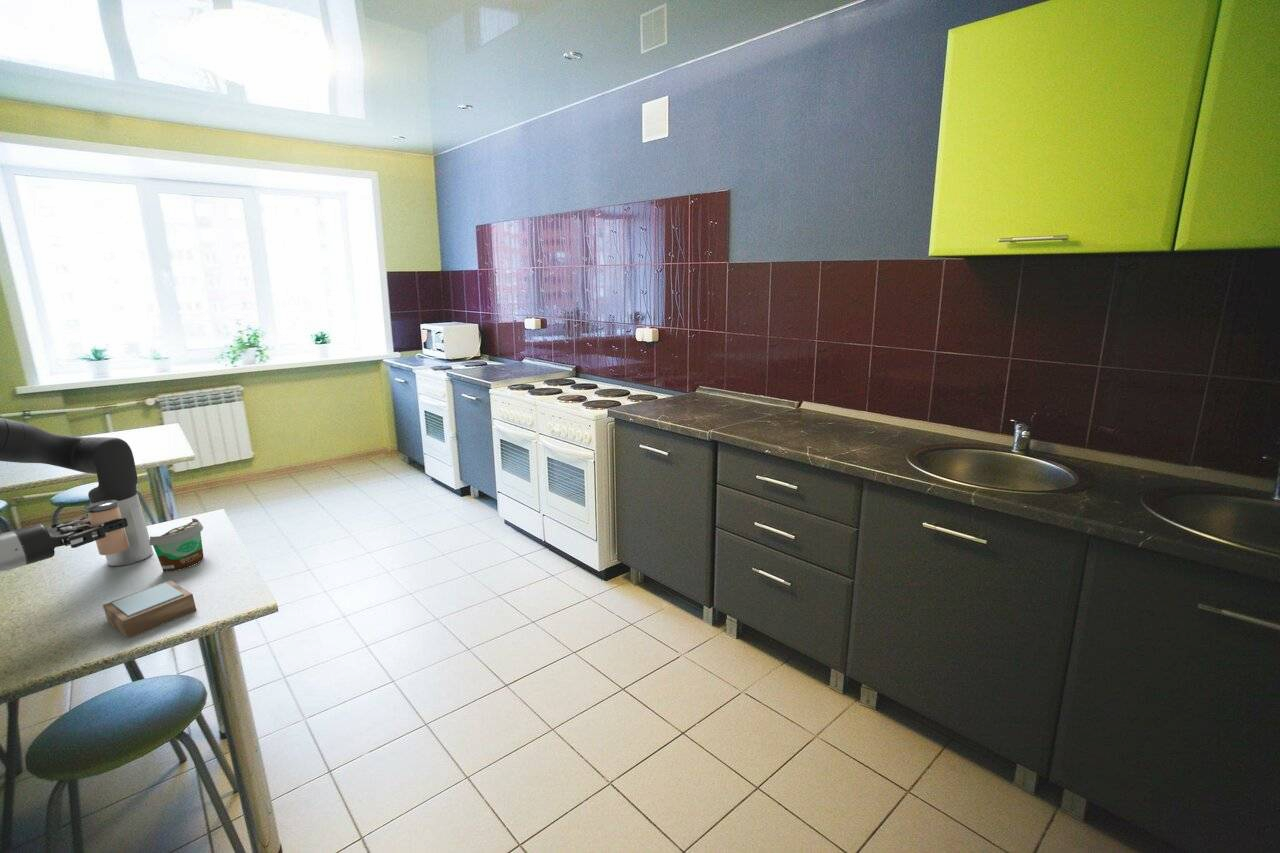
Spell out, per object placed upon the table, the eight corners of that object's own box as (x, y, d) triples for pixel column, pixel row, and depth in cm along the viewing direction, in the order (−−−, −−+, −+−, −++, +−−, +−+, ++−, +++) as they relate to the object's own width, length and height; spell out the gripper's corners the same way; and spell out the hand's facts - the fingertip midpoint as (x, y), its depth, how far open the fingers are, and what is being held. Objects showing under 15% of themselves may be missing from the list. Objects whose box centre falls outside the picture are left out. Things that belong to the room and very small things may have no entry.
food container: (177, 576, 144) (167, 539, 141) (157, 574, 145) (147, 537, 142) (221, 553, 155) (213, 518, 153) (202, 551, 157) (194, 517, 154)
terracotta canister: (94, 551, 131) (81, 506, 128) (125, 542, 135) (113, 498, 132) (103, 557, 128) (90, 511, 125) (133, 547, 132) (121, 502, 129)
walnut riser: (107, 621, 125) (102, 603, 123) (174, 595, 134) (169, 579, 133) (128, 638, 118) (122, 619, 117) (196, 610, 128) (192, 592, 127)
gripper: (20, 539, 113) (129, 509, 127) (2, 524, 121) (106, 497, 135) (32, 574, 115) (138, 540, 129) (13, 557, 123) (115, 527, 137)
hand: (121, 519), depth 132 cm, fingers closed on terracotta canister, 5 cm apart
